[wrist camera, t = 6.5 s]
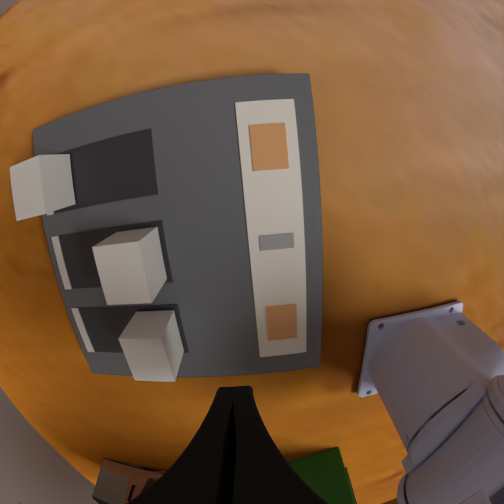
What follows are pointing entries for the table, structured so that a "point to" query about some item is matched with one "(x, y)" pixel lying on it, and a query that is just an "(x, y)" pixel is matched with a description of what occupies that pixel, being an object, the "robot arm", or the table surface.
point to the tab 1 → (42, 185)
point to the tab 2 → (152, 346)
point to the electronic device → (122, 482)
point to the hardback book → (326, 476)
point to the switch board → (199, 220)
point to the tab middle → (130, 266)
